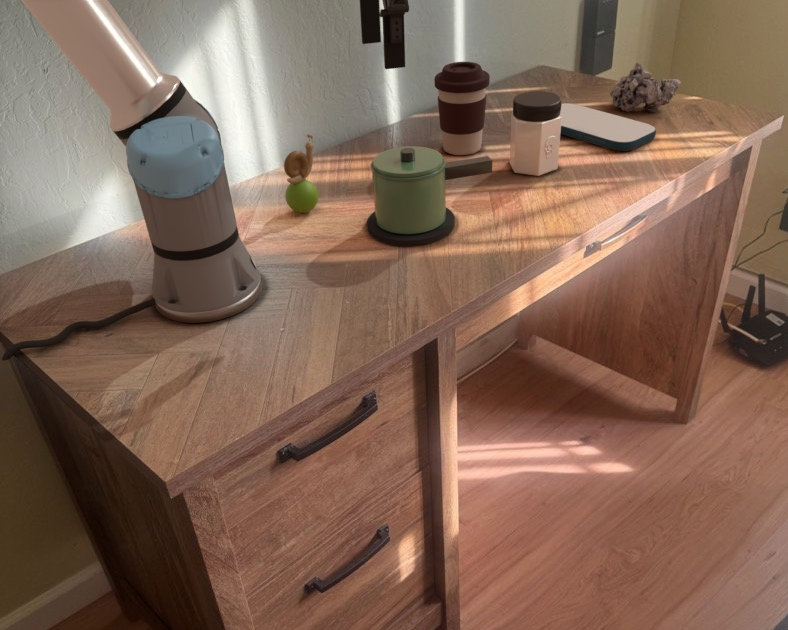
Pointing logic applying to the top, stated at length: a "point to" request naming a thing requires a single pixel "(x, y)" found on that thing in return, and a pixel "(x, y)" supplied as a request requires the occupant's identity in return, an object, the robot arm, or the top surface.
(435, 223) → the pot
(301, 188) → the snail figurine
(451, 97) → the coffee cup
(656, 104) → the mineral specimen
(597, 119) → the external hard drive
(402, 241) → the trivet
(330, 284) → the top surface
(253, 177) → the top surface
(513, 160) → the jar
